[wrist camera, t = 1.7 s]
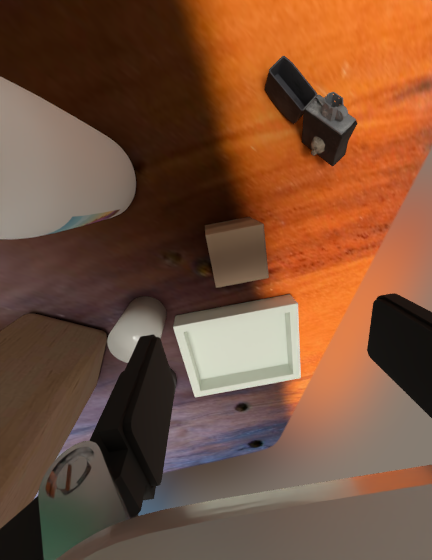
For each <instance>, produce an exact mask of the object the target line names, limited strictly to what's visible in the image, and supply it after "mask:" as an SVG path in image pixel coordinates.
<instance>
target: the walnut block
mask: <svg viewBox="0 0 432 560" xmlns="http://www.w3.org/2000/svg"><path fill="white" fill-rule="evenodd" d="M205 235H206V240H207V245H208V250H209V255H210V260H211V265H212V270H213V275H214V280H215V285H216V288H218V287H223V286H228V285H233V284H239V283H244V282H249V281H254V280H259V279H265V278H269V276H268V266H267V255H266V245H265V234H264V224H263V223H261V222H259V221H257V220H255V219H253V218H251V217H245V218H240V219H235V220H230V221H225V222H219V223H214V224H209V225H205Z"/></svg>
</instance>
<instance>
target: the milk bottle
mask: <svg viewBox="0 0 432 560" xmlns="http://www.w3.org/2000/svg"><path fill="white" fill-rule="evenodd" d="M135 191H136V177H135V172H134V168H133V166H132V163H131V161H130V159H129V158H128V156H127V154H126V153H125V152H124V150H123V149H122V148H121V147H120V146H119V145H118V144H117V143H116V142H114V141H113V140H112V139H110V138H109V137H107V136H106V135H104V134H103V133H101V132H99V131H98V130H96V129H94V128H93V127H91V126H89V125H87V124H86V123H84V122H82V121H81V120H79V119H77V118H76V117H74V116H72V115H70V114H69V113H67V112H65V111H63V110H62V109H60V108H58V107H56V106H55V105H53V104H51V103H49V102H48V101H46V100H44V99H42V98H41V97H39V96H37V95H35V94H33V93H31V92H29V91H27V90H26V89H24V88H22V87H20V86H18V85H16V84H14V83H12V82H10V81H8V80H6V79H4V78H2V77H0V239H21V238H31V237H37V236H42V235H47V234H52V233H57V232H61V231H64V230H68V229H72V228H76V227H80V226H84V225H87V224H91V223H95V222H98V221H102V220H106V219H109V218H112V217H115V216H117V215H119V214H121V213H122V212H124V211H125V210H126V209H127V208H128V207H129V205H130V204H131V202H132V200H133V198H134V195H135Z"/></svg>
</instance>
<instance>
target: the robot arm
mask: <svg viewBox="0 0 432 560" xmlns="http://www.w3.org/2000/svg"><path fill="white" fill-rule="evenodd" d="M367 351H368V354H369V356H370V358H371V359H372V360H373V361H374V362H375V363H376V364H377V365H378V366H379V367H380V368H381V369H382V370H383V371H384V372H385V373H387V374H388V376H389V377H391V378H392V379H393V380H394V381H395V382H396V383H397V384H398V385H399V386H400V387H401V388H402V389H403V390H404V391H405V392H406V393H407V394H408V395H409V396H410V397H411V398H412V399H413V400H414V401H415V402H416V403H417V404H418V405H419V406H420V407H421V408H422V409H423V410H424V411H425V412H426V413H427V414H428V415H429V416H430V417H431V418H432V312H430V311H428V310H426V309H425V308H423V307H421V306H419V305H417V304H415V303H413V302H411V301H409V300H407V299H405V298H403V297H401V296H400V295H397V294H387V295H381V296H379V297H378V298H377V299H376V300H375V301H374V303H373V310H372V318H371V325H370V333H369V341H368V349H367ZM174 393H175V384H174V380H173V377H172V374H171V371H170V367H169V364H168V361H167V358H166V355H165V352H164V349H163V346H162V343H161V340H160V338H159V337H156V336H155V335H154V334H152V335H147V336H141V337H140V338H139V340H138V342H137V344H136V347H135V349H134V351H133V353H132V356H131V358H130V360H129V362H128V365H127V367H126V369H125V371H123V372H122V373H121V374H120V376H119V378H118V380H117V382H116V385H115V387H114V389H113V391H112V393H111V395H110V398H109V400H108V402H107V404H106V406H105V408H104V410H103V413H102V415H101V417H100V419H99V421H98V423H97V426H96V428H95V430H94V432H93V434H92V436H91V439H90V441H83V442H81V443H78V444H75V445H74V446H72V447H70V448H69V449H67V450H66V451H65V452H64V453H62V454H61V455H60V456H59V457H58V458H57V459H56V460H55V461H54V462H53V464H52V465H51V466H50V467H49V469H48V470H47V472H46V473H45V475H44V477H43V479H42V481H41V484H40V487H39V494H38V497H36V498H35V499H34V500H33V501H32V502H31V503H30V504H28V505H27V506H26V507H25V508H24V509H23V510H21V511H20V512H19V513H18V514H17V515H16V516H14V517H13V518H12V519H11V520H10V521H9V522H8V523H6V524H5V525H4V526H3V527H2V528H1V529H0V560H432V465H427V466H421V467H414V468H409V469H402V470H396V471H389V472H383V473H376V474H370V475H364V476H358V477H351V478H345V479H339V480H333V481H326V482H320V483H314V484H308V485H302V486H296V487H290V488H284V489H278V490H272V491H266V492H259V493H254V494H248V495H242V496H235V497H229V498H223V499H218V500H213V501H207V502H202V503H197V504H191V505H186V506H181V507H175V508H170V509H165V510H161V511H157V512H153V513H149V514H145V515H141V516H138V513H139V512H140V511H141V507H142V502H143V500H148V499H154V494H155V488H156V486H158V485H160V483H161V480H162V474H163V467H164V460H165V453H166V447H167V440H168V433H169V426H170V420H171V413H172V406H173V399H174Z"/></svg>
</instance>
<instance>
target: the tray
mask: <svg viewBox="0 0 432 560" xmlns="http://www.w3.org/2000/svg"><path fill="white" fill-rule="evenodd" d="M173 328H174V331H175V335H176V338H177V341H178V344H179V347H180V351H181V354H182V357H183V360H184V364H185V367H186V370H187V373H188V376H189V380H190V383H191V386H192V389H193V393H194V396H195V397H200V396H205V395H211V394H216V393H222V392H227V391H233V390H238V389H243V388H249V387H254V386H260V385H265V384H271V383H276V382H282V381H287V380H293V379H298V378H301V371H300V346H299V320H298V303H297V302H296V301H295V299H294V298H293V297H292V296H291V295H290V294H287V295H282V296H277V297H272V298H266V299H261V300H256V301H250V302H245V303H240V304H235V305H229V306H224V307H219V308H213V309H208V310H203V311H198V312H192V313H187V314H182V315H176V316H175V320H174V325H173Z"/></svg>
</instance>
